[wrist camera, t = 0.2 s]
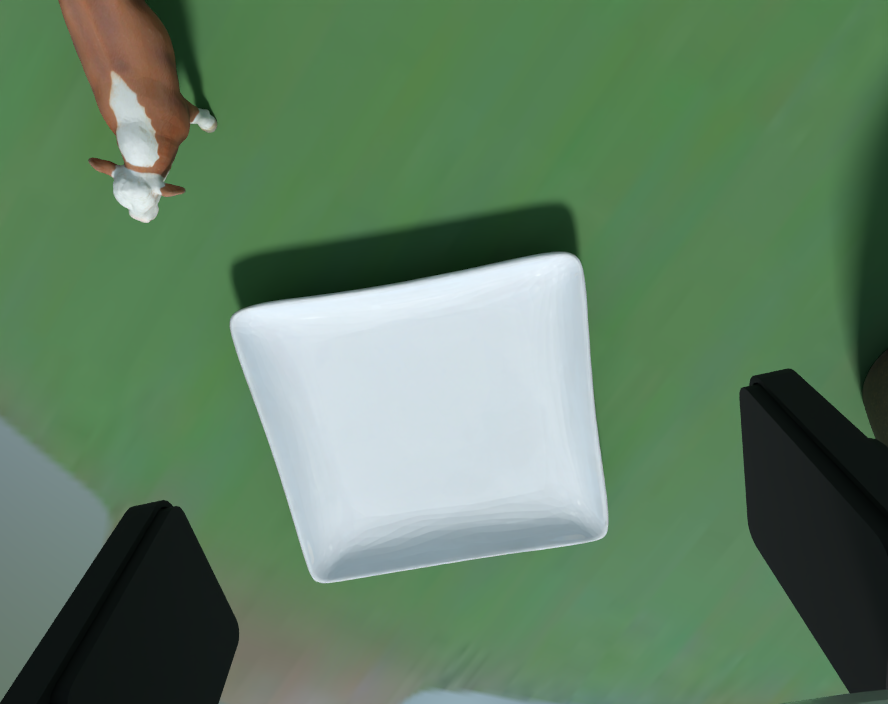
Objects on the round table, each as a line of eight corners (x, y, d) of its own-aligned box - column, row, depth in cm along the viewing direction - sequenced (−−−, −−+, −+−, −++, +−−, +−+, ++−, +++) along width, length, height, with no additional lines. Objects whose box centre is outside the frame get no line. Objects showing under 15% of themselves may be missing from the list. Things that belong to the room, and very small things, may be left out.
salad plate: (572, 232, 41) (583, 248, 38) (601, 512, 50) (612, 543, 47) (235, 293, 43) (219, 312, 40) (320, 555, 51) (313, 588, 48)
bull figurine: (163, 201, 40) (101, 237, 33) (88, -64, 34) (-8, -93, 27) (237, 192, 40) (191, 227, 32) (173, -75, 34) (100, -107, 27)
